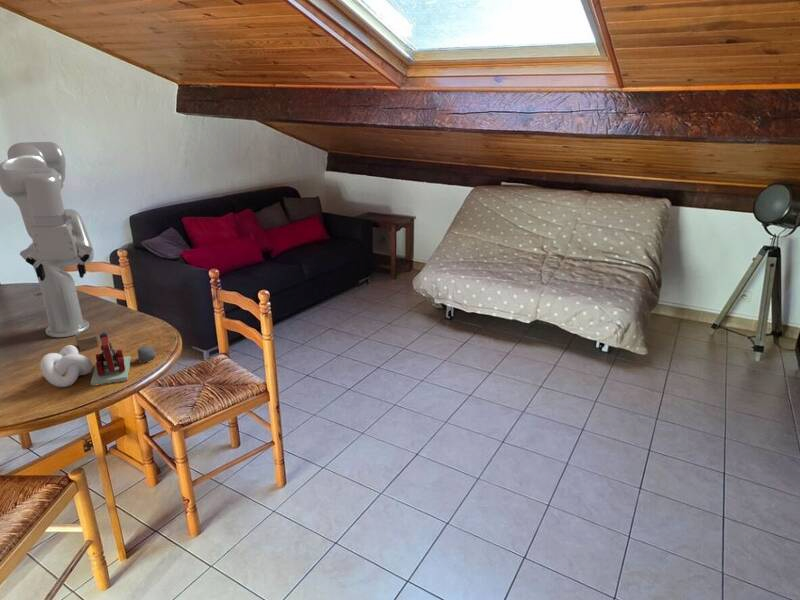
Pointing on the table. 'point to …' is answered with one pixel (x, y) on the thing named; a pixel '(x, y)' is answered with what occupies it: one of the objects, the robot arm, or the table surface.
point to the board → (112, 373)
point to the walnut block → (86, 340)
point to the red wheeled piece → (109, 357)
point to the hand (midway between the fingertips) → (62, 277)
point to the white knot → (65, 366)
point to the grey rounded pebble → (146, 354)
